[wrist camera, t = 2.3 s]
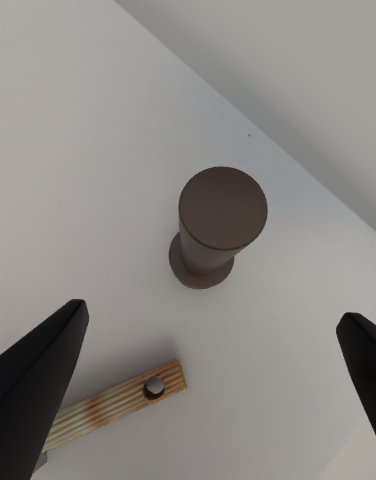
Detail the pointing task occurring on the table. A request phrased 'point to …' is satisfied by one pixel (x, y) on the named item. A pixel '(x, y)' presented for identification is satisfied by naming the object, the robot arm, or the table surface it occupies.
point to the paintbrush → (111, 406)
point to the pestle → (215, 225)
